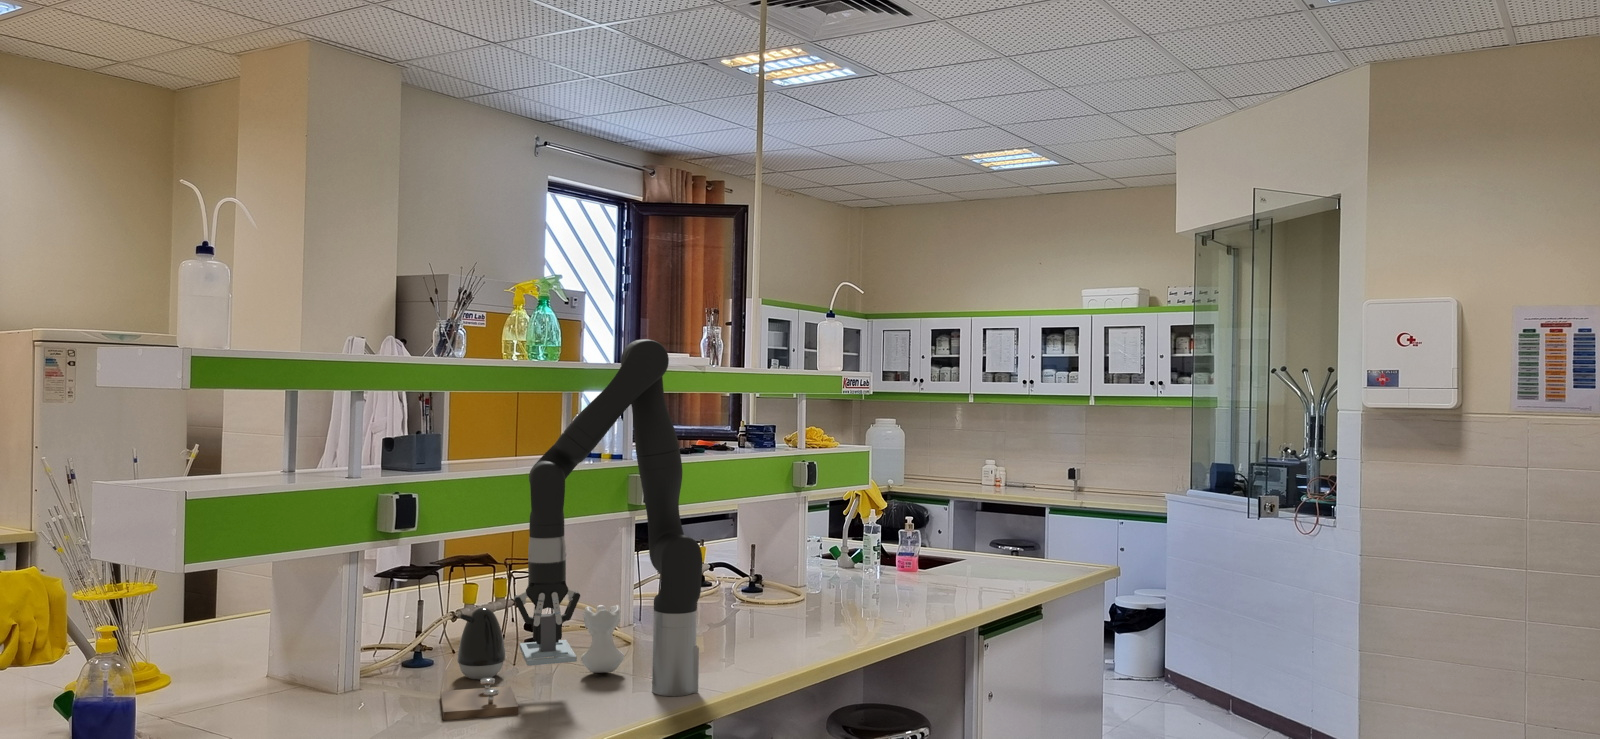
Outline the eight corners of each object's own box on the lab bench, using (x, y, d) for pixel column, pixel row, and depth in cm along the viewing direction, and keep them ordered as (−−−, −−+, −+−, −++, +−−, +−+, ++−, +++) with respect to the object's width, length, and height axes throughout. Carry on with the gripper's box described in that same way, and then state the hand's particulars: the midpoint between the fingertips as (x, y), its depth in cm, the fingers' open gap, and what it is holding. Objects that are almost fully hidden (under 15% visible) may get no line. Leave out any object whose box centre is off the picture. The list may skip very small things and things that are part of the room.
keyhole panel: (565, 644, 237) (565, 606, 237) (576, 661, 222) (576, 621, 222) (519, 648, 234) (519, 609, 234) (527, 665, 219) (527, 625, 219)
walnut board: (510, 693, 233) (511, 673, 233) (518, 714, 218) (518, 692, 218) (440, 698, 228) (440, 678, 228) (443, 720, 213) (443, 698, 213)
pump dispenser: (447, 676, 246) (449, 607, 246) (490, 668, 253) (491, 601, 254) (470, 685, 239) (472, 614, 239) (513, 677, 246) (515, 608, 246)
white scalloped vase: (581, 680, 244) (582, 611, 245) (577, 668, 255) (579, 602, 256) (625, 677, 247) (626, 610, 247) (620, 666, 258) (621, 601, 258)
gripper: (579, 554, 234) (579, 636, 234) (510, 557, 229) (510, 641, 229) (584, 559, 227) (584, 644, 227) (513, 563, 222) (513, 649, 222)
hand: (547, 642), depth 228 cm, fingers closed on keyhole panel, 3 cm apart
